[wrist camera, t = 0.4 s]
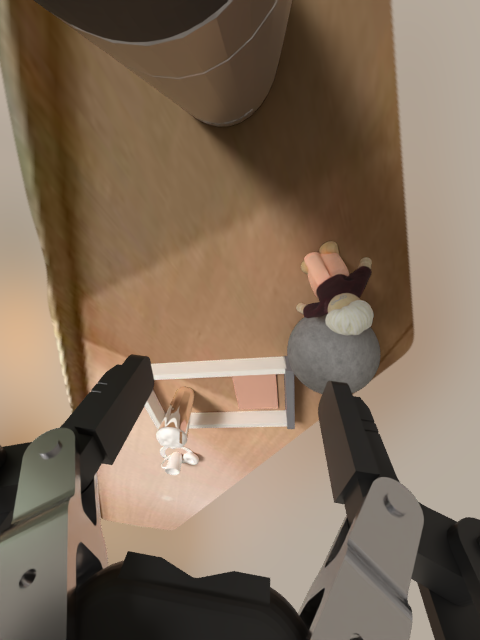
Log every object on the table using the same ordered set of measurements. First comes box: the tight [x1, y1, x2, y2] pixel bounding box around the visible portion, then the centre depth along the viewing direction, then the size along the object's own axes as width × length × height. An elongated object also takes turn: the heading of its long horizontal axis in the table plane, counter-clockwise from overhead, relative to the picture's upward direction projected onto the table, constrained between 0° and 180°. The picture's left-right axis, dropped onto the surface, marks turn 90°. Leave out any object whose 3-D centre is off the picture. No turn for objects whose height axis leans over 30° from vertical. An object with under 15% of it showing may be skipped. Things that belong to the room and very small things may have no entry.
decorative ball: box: [287, 314, 380, 394], centre depth 27 cm, size 10×10×10 cm
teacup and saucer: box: [160, 447, 199, 475], centre depth 52 cm, size 9×8×4 cm
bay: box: [145, 356, 295, 429], centre depth 39 cm, size 14×25×3 cm, turn 97°
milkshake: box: [156, 387, 195, 449], centre depth 37 cm, size 4×5×10 cm
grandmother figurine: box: [296, 241, 374, 335], centre depth 22 cm, size 8×4×13 cm, turn 145°
